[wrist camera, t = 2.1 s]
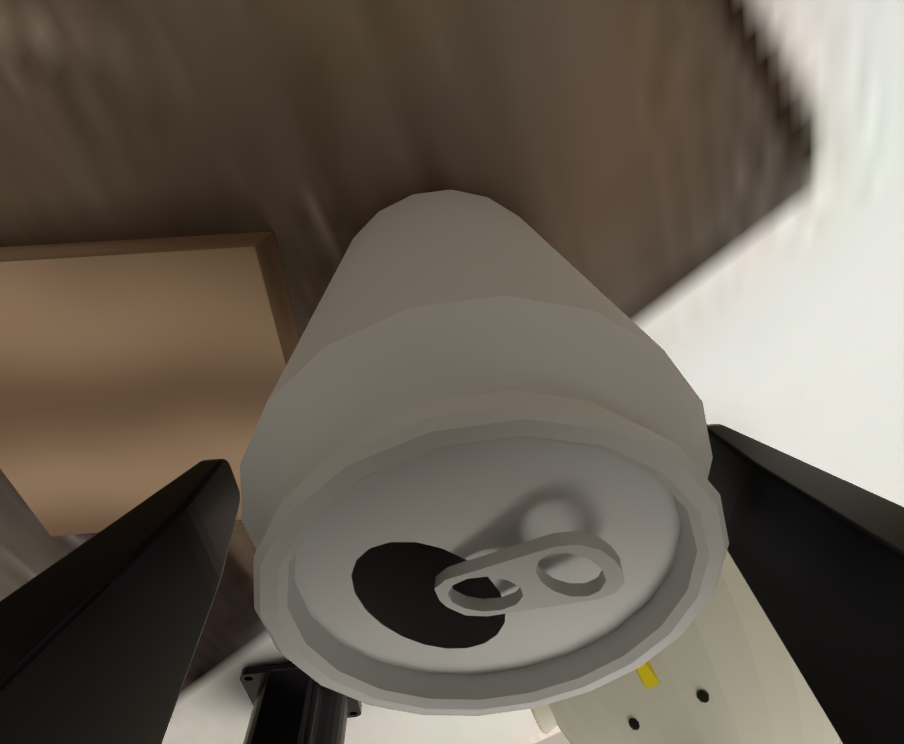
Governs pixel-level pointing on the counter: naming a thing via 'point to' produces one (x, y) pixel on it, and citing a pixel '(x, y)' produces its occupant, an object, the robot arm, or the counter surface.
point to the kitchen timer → (703, 686)
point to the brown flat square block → (134, 366)
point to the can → (476, 475)
